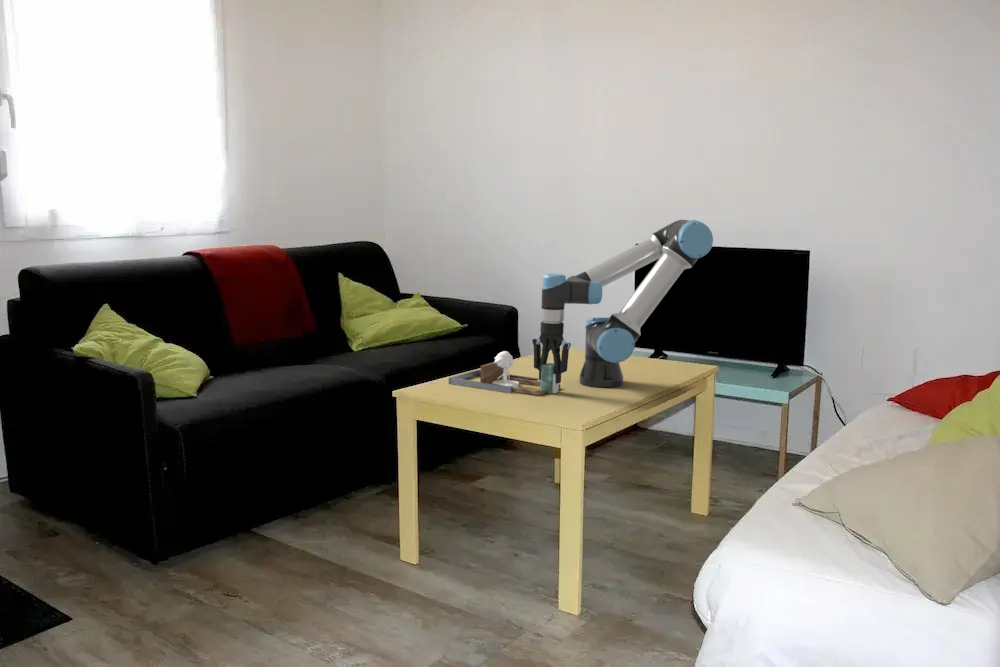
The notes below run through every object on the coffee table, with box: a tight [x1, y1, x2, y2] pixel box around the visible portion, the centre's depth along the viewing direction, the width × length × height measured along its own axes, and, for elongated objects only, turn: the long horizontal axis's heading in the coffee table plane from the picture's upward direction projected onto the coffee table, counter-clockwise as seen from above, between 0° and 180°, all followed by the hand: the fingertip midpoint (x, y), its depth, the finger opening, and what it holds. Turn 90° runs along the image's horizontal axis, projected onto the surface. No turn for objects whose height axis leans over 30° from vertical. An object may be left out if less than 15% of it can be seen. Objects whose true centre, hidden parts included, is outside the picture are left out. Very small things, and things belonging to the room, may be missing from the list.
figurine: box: [492, 350, 520, 388], centre depth 294 cm, size 9×9×12 cm
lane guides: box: [448, 369, 539, 394], centre depth 297 cm, size 25×17×2 cm
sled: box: [479, 361, 561, 396], centre depth 290 cm, size 25×14×9 cm, turn 57°
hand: (549, 391), depth 285 cm, fingers closed on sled, 4 cm apart
